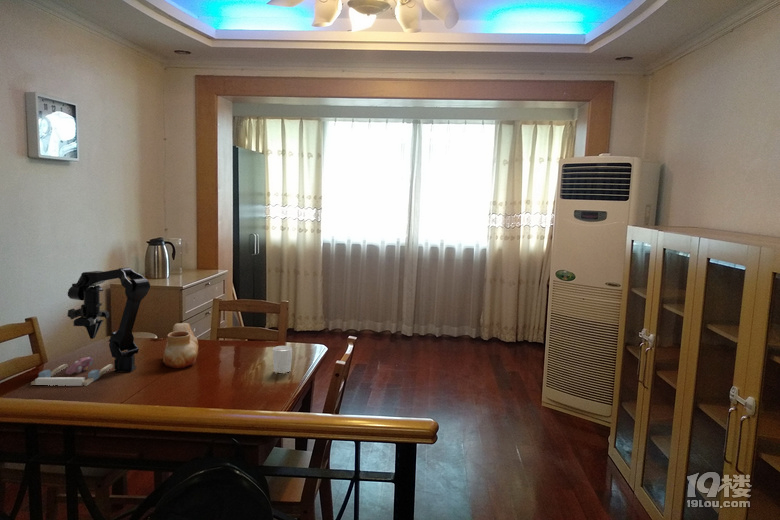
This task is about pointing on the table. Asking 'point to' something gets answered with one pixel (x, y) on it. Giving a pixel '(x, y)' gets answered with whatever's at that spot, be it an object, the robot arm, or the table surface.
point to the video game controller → (80, 365)
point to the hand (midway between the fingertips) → (92, 338)
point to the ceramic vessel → (180, 347)
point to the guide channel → (68, 381)
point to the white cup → (282, 358)
